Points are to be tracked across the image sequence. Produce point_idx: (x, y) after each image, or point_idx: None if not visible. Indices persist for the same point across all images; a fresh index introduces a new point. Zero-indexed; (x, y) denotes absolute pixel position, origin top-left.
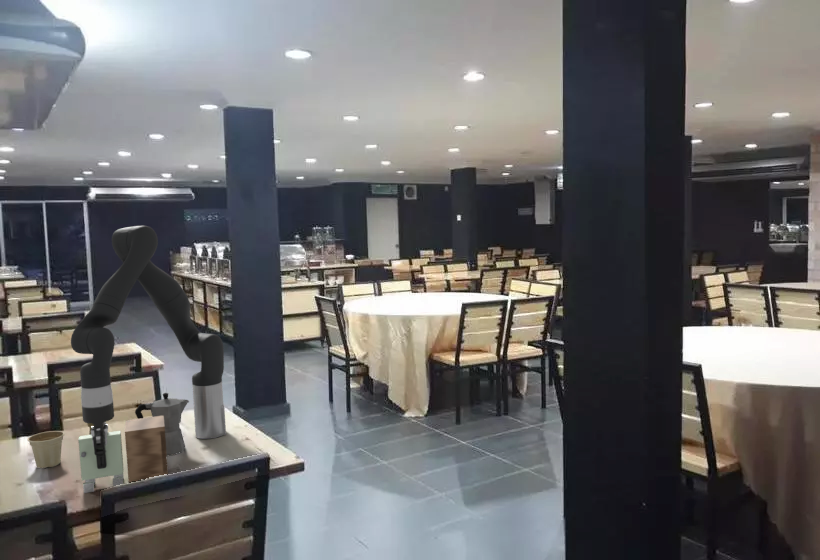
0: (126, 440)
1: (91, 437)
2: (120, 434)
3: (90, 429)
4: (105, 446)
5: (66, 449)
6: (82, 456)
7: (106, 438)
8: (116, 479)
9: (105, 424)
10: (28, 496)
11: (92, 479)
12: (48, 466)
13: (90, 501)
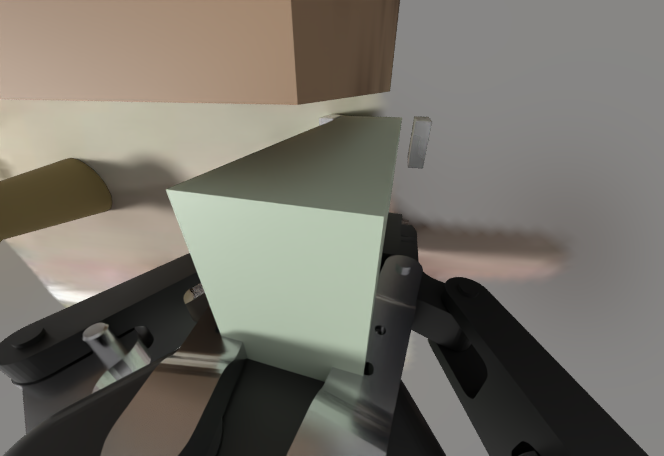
0: (348, 79)
1: None
2: (317, 193)
3: (9, 236)
4: (384, 290)
5: (91, 248)
6: None
7: (402, 361)
8: (425, 150)
9: (41, 353)
10: None
11: None
12: (189, 290)
13: (502, 237)
